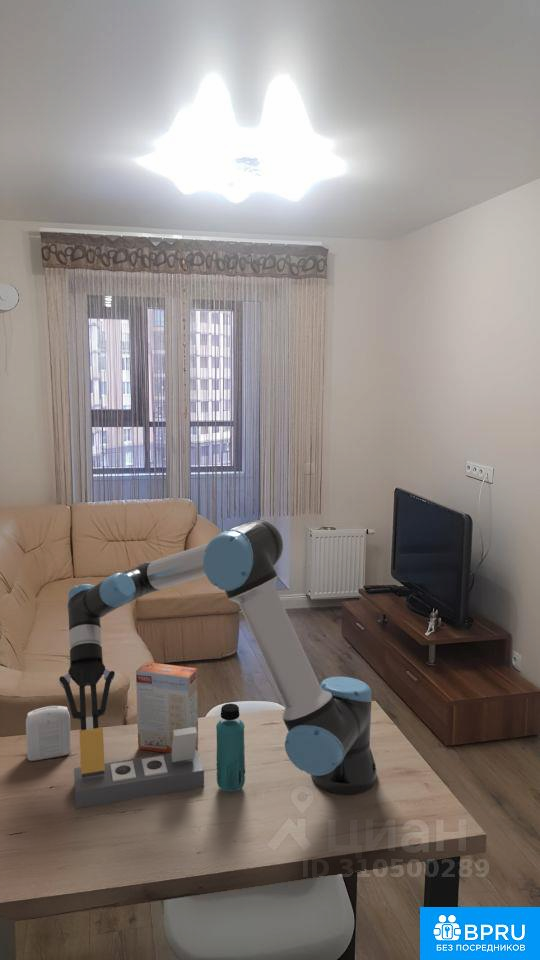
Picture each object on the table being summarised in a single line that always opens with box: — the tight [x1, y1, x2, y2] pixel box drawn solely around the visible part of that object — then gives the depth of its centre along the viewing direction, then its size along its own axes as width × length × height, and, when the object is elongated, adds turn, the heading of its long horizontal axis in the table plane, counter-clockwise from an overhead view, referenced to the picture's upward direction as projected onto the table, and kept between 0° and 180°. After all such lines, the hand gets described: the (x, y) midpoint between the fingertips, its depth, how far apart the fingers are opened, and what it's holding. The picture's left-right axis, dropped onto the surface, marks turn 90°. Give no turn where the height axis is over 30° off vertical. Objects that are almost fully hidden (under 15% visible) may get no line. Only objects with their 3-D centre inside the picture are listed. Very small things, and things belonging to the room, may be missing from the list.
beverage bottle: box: [215, 703, 246, 792], centre depth 155 cm, size 6×7×20 cm
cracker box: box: [135, 661, 199, 754], centre depth 171 cm, size 14×6×21 cm, turn 73°
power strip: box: [73, 748, 205, 809], centre depth 157 cm, size 28×9×4 cm, turn 107°
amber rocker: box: [78, 727, 105, 778], centre depth 154 cm, size 5×2×10 cm, turn 107°
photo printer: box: [25, 705, 72, 762], centre depth 168 cm, size 10×4×12 cm, turn 111°
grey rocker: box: [172, 727, 197, 763], centre depth 157 cm, size 5×2×10 cm, turn 107°
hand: (90, 747), depth 156 cm, fingers closed
